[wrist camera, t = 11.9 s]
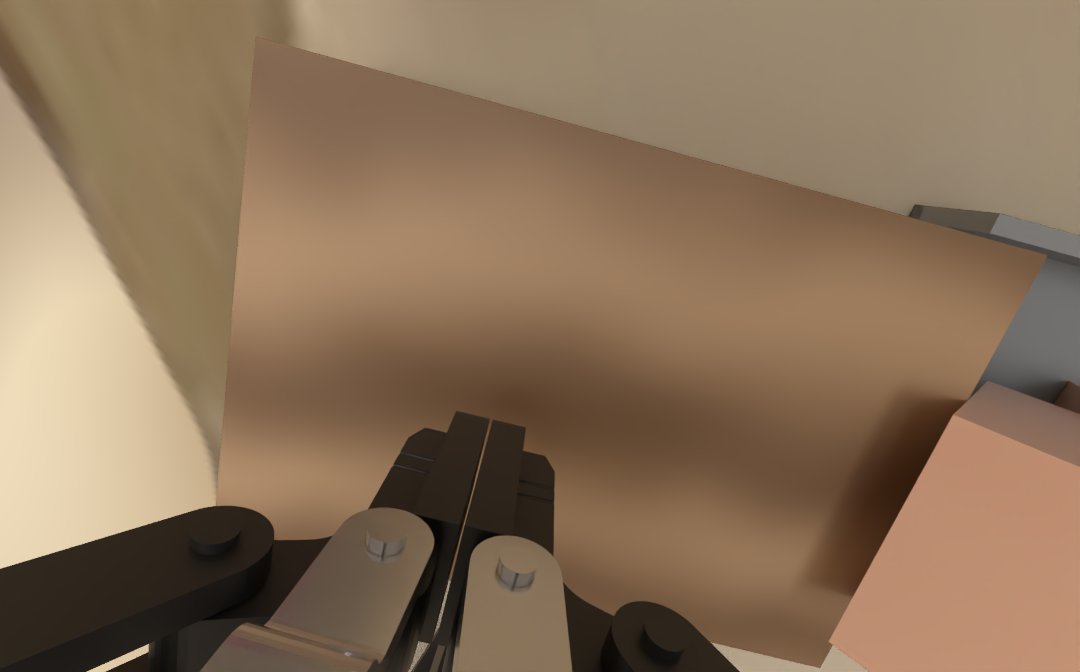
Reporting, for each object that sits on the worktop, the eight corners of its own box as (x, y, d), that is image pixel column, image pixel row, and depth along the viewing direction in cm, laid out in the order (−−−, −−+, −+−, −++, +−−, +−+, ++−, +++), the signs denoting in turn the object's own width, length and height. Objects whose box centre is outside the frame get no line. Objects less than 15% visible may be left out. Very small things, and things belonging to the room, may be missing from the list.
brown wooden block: (361, 82, 19) (255, 36, 12) (885, 226, 20) (1048, 255, 13) (313, 422, 23) (214, 524, 17) (748, 530, 24) (820, 667, 18)
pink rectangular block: (952, 414, 12) (1286, 552, 9) (988, 380, 19) (1191, 455, 16) (828, 641, 14) (1067, 818, 11) (898, 540, 21) (1063, 635, 18)
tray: (915, 205, 20) (1000, 213, 16) (1302, 312, 20) (1474, 345, 17) (754, 551, 25) (790, 621, 21) (1073, 629, 25) (1165, 711, 21)
